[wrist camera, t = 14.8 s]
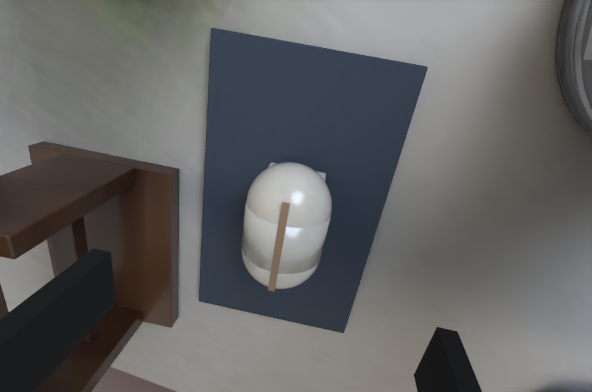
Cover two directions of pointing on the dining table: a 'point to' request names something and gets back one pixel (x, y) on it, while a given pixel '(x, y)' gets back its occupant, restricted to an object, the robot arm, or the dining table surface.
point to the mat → (299, 161)
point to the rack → (97, 241)
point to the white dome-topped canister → (285, 224)
